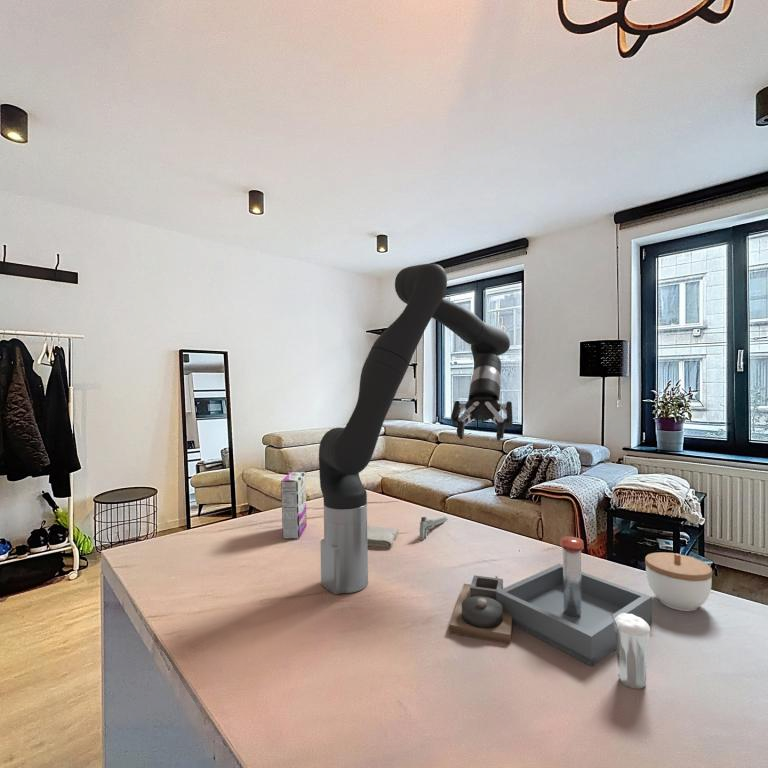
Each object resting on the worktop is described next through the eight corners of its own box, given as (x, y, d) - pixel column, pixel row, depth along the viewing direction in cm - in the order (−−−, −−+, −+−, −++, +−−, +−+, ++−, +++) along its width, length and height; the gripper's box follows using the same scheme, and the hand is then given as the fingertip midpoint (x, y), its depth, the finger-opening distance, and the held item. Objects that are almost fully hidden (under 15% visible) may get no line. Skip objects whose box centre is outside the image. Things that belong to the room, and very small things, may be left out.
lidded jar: (701, 594, 88) (700, 547, 88) (722, 622, 78) (721, 569, 78) (640, 586, 92) (639, 541, 92) (652, 612, 81) (652, 561, 81)
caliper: (423, 542, 119) (423, 519, 119) (419, 541, 120) (419, 518, 120) (447, 520, 138) (447, 500, 138) (444, 519, 138) (444, 499, 138)
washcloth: (339, 531, 129) (338, 521, 129) (399, 535, 126) (399, 524, 126) (325, 546, 118) (325, 535, 118) (391, 551, 114) (391, 539, 114)
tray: (591, 666, 67) (591, 636, 66) (496, 616, 81) (496, 591, 81) (651, 622, 78) (651, 596, 78) (559, 585, 93) (559, 563, 93)
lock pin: (576, 621, 77) (575, 545, 77) (557, 612, 80) (556, 539, 80) (588, 614, 79) (587, 540, 79) (568, 605, 82) (568, 534, 82)
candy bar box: (290, 526, 133) (289, 471, 133) (307, 526, 133) (306, 471, 133) (281, 539, 122) (280, 480, 122) (299, 539, 122) (298, 480, 122)
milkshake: (602, 672, 65) (601, 604, 65) (636, 670, 66) (636, 602, 65) (621, 694, 61) (620, 621, 60) (658, 691, 61) (657, 619, 61)
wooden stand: (510, 643, 72) (510, 616, 72) (449, 633, 76) (449, 607, 76) (514, 597, 88) (514, 575, 88) (464, 590, 91) (463, 569, 91)
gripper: (455, 377, 113) (446, 426, 102) (513, 376, 108) (510, 428, 97) (459, 397, 118) (451, 446, 107) (514, 397, 113) (512, 449, 102)
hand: (479, 437), depth 102 cm, fingers open, 8 cm apart
